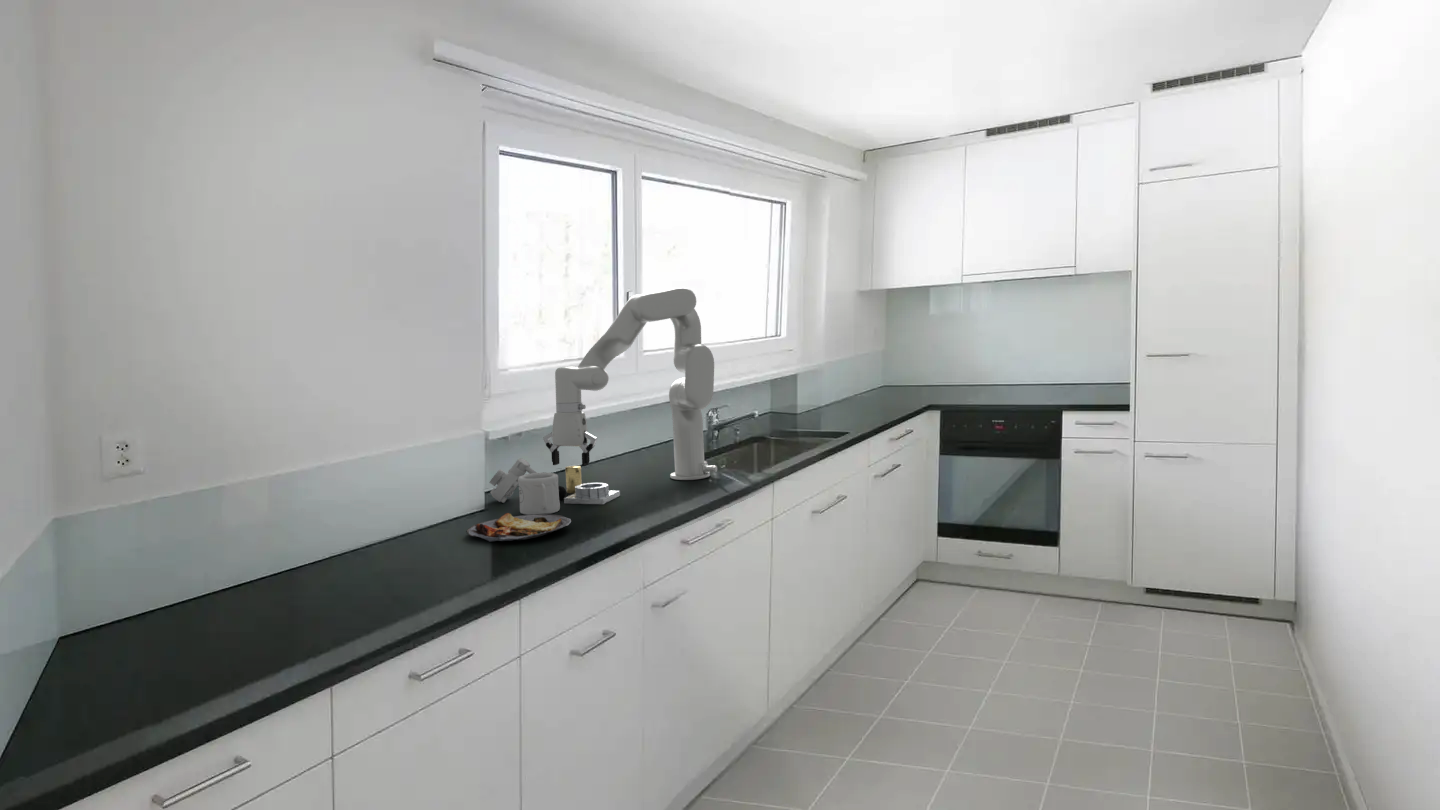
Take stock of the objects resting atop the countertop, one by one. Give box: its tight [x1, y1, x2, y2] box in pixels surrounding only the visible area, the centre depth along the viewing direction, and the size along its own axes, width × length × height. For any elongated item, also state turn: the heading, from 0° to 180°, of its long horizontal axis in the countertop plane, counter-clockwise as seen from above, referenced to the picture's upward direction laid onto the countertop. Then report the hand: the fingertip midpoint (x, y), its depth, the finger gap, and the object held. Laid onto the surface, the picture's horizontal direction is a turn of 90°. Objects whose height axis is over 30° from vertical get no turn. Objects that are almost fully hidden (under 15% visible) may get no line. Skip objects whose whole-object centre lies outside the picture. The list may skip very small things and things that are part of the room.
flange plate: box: [563, 482, 621, 505], centre depth 278 cm, size 12×12×4 cm
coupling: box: [564, 465, 583, 494], centre depth 292 cm, size 5×5×8 cm
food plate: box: [465, 512, 572, 543], centre depth 240 cm, size 25×23×4 cm
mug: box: [518, 472, 561, 516], centre depth 263 cm, size 14×11×10 cm
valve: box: [489, 457, 568, 504], centre depth 281 cm, size 10×20×15 cm
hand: (570, 465), depth 291 cm, fingers open, 9 cm apart
